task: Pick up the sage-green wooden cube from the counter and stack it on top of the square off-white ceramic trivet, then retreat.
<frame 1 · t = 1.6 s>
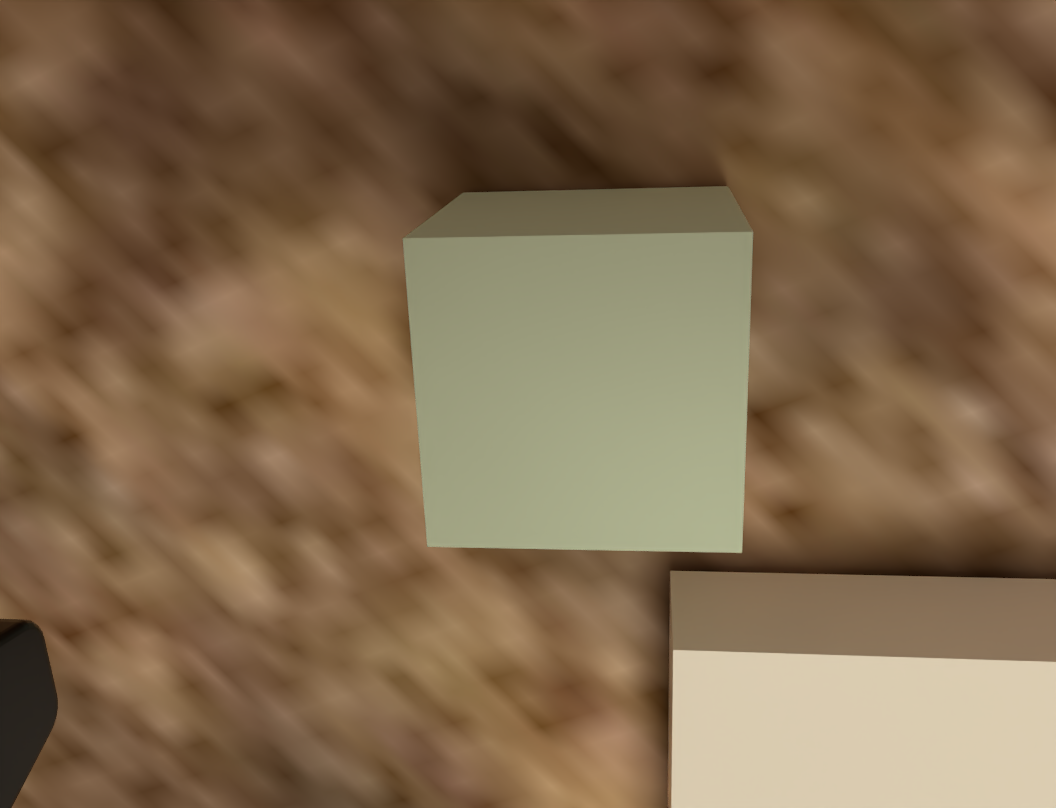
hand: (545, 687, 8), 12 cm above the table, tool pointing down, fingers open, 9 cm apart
trivet: (873, 755, 22), on the table
cube: (595, 317, 20), on the table
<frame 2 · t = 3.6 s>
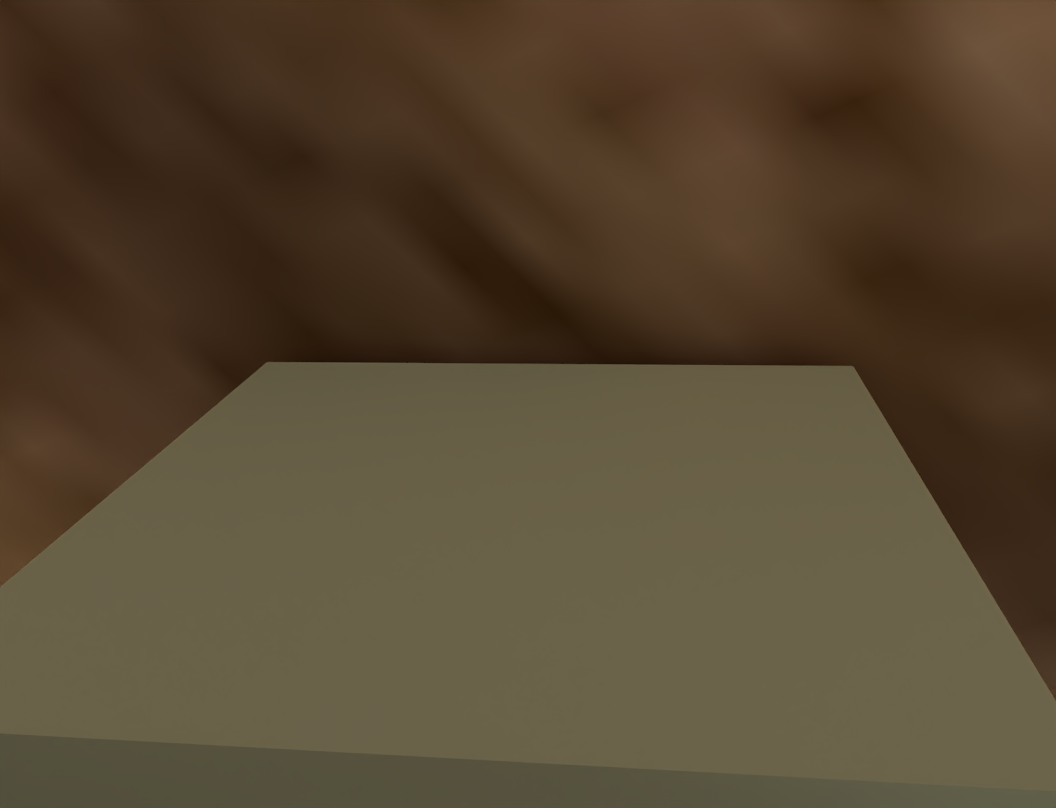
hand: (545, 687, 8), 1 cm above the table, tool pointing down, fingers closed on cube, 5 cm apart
cube: (555, 618, 9), on the table, touching gripper
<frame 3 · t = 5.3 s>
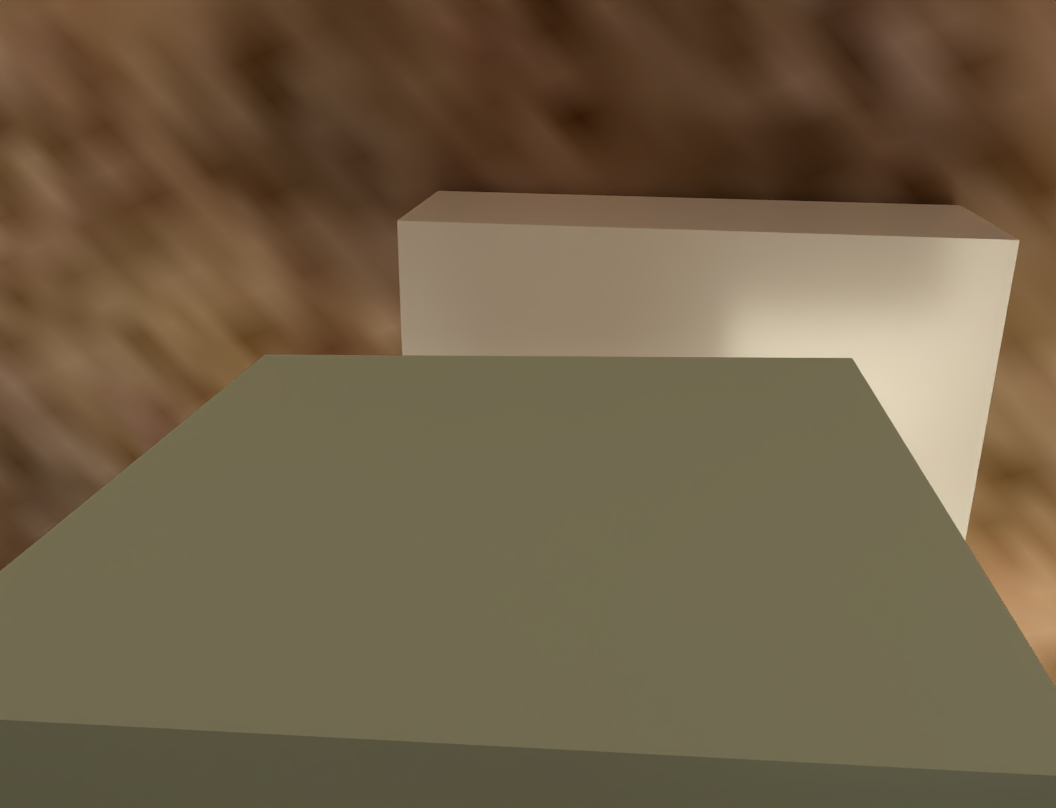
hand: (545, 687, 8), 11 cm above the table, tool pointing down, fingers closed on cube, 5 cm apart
trivet: (676, 436, 19), on the table
cube: (554, 612, 9), point 10 cm above the table, touching gripper
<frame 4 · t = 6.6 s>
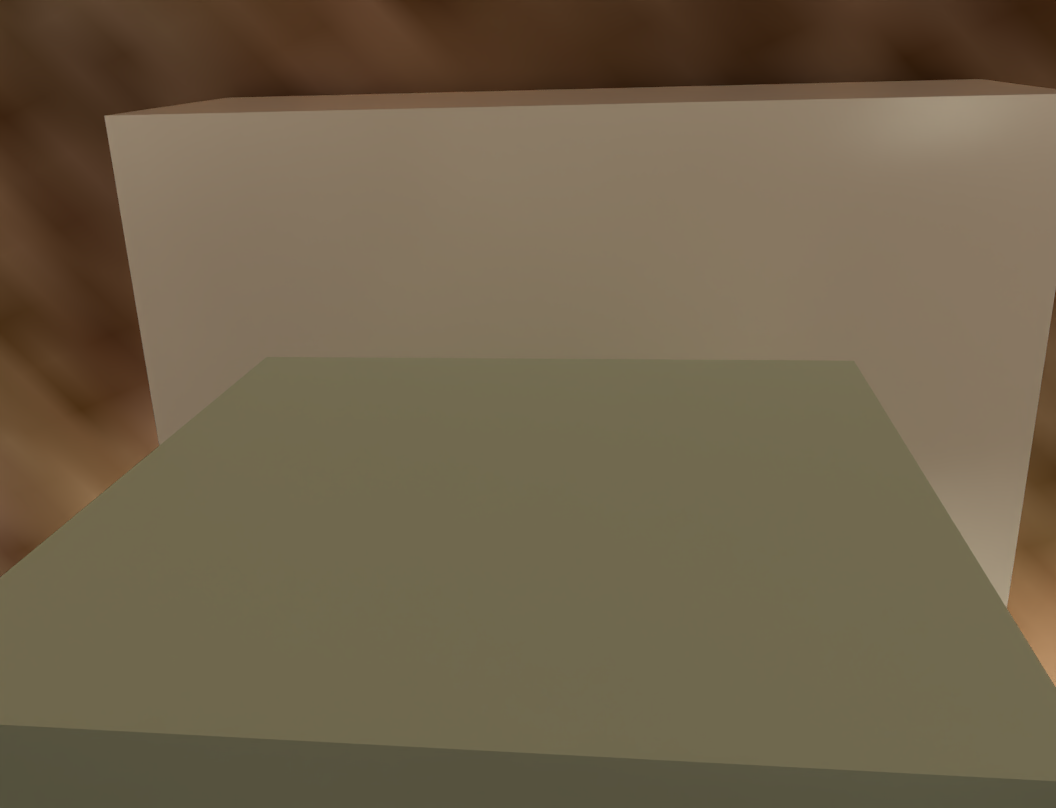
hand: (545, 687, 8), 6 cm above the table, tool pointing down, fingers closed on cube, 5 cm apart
trivet: (589, 438, 14), on the table
cube: (555, 614, 9), point 4 cm above the table, touching gripper
when the fingers open (5 cm above the table, at t = 7.3 s): cube drops 1 cm, resting on trivet.
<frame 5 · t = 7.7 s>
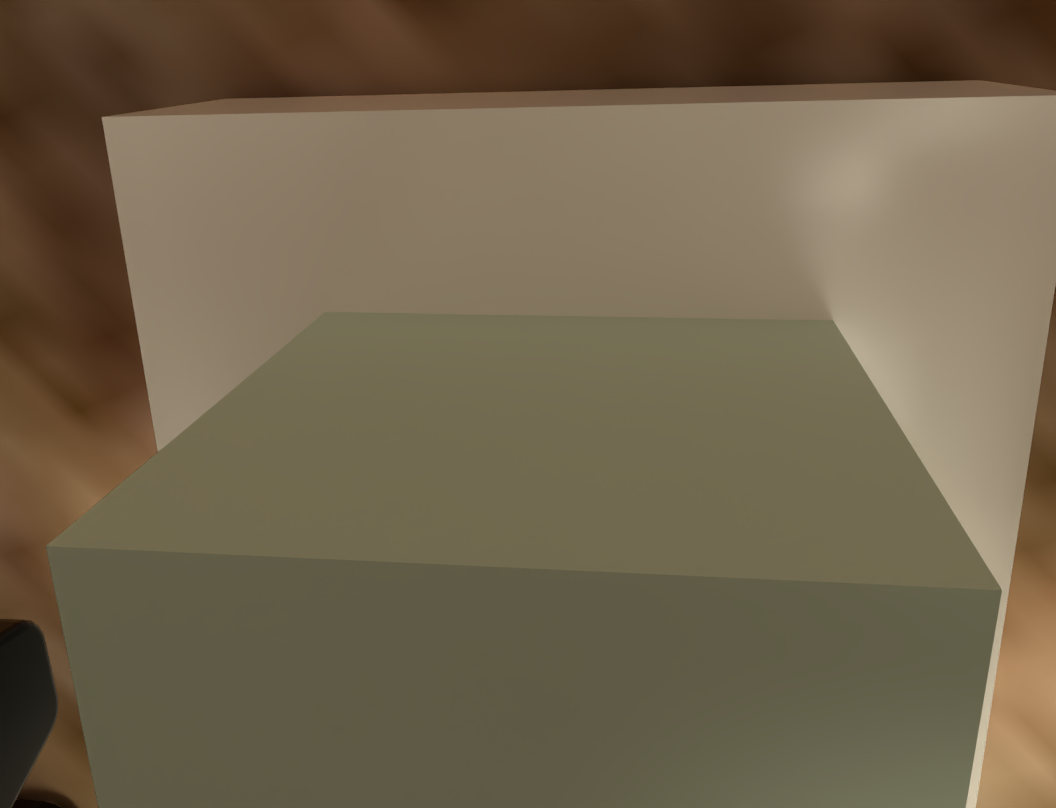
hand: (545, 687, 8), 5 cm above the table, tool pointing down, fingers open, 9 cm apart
trivet: (588, 439, 14), on the table
cube: (571, 543, 11), point 3 cm above the table, touching trivet
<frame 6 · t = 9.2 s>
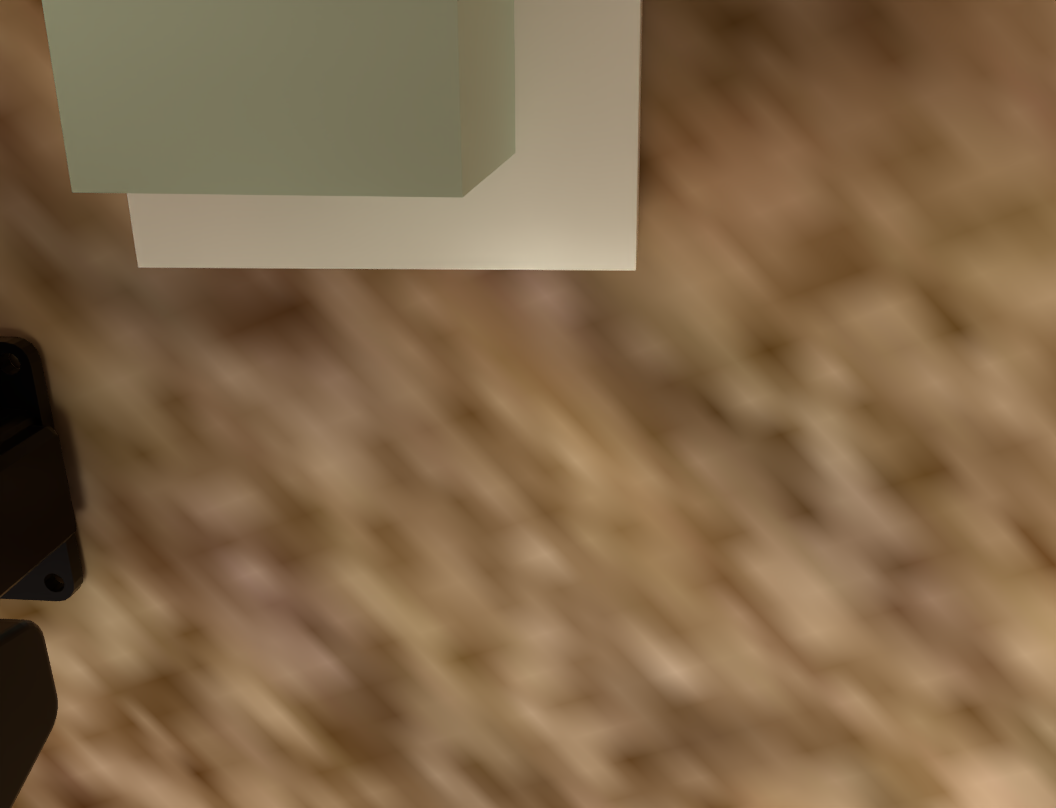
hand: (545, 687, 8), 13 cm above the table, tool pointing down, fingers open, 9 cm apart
trivet: (403, 0, 19), on the table
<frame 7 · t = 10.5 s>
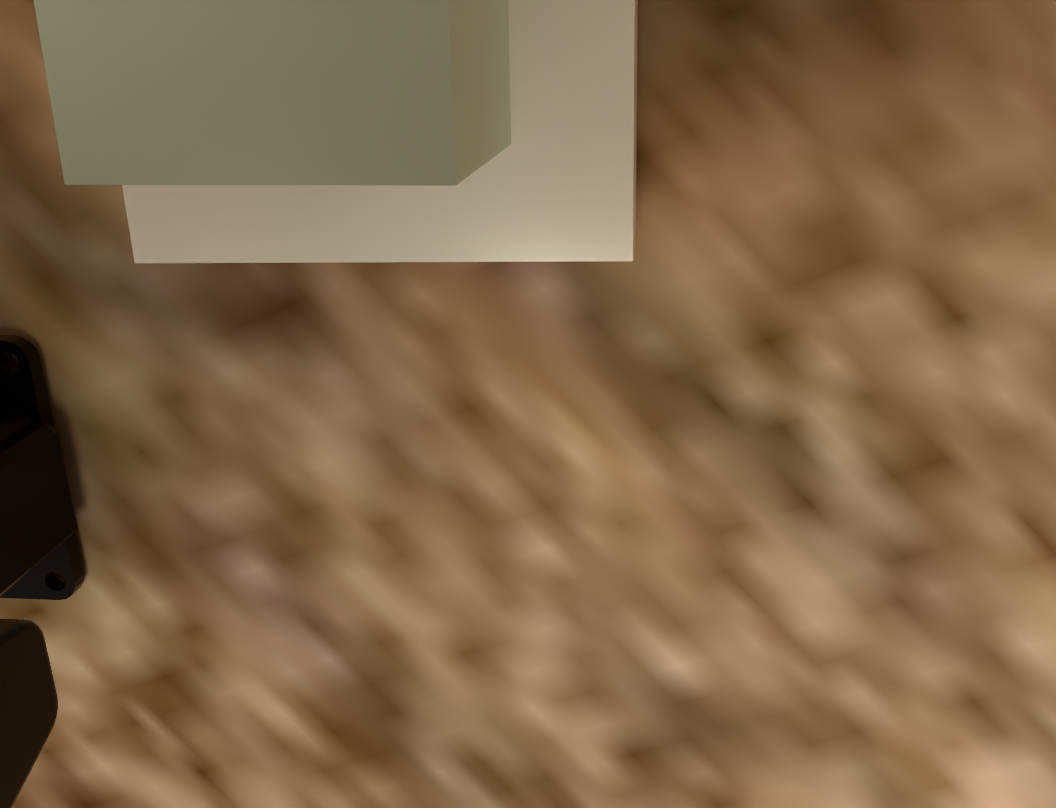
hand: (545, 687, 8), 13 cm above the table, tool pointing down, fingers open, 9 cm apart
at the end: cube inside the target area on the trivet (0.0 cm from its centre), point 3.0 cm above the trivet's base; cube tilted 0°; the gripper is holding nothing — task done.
